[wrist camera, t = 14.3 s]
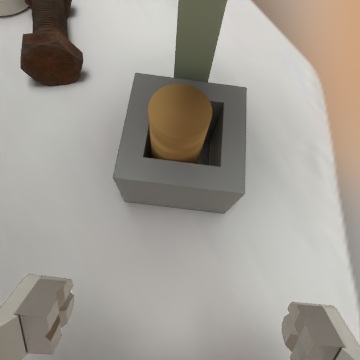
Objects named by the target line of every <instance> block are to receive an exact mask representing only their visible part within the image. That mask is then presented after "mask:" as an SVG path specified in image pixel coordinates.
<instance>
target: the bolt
mask: <svg viewBox="0 0 360 360" xmlns="http://www.w3.org/2000/svg"><path fill="white" fill-rule="evenodd" d="M71 1H72V0H25V3H26V4H27V5H28V6H29V7H30V8H31V9H32V18H33V33H31V34H23V40H22V50H21V69H22V70H23V71H24V72H25V73H26V74H28V75H29V76H30V77H31V78H33V79H34V80H36V81H38V82H40V83H42V84H45V85H51V86H59V85H67V84H70V83H73V82H75V81H77V80H78V78H79V75H80V72H81V69H82V64H83V54H82V52H81V51H80V50H79V49H78V48H77V47H75V46H74V45H73V44H72V43H71V42H70V41H69V40H68V35H67V23H66V17H68V15H69V11H70V7H71Z"/></svg>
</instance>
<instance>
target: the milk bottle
mask: <svg viewBox="0 0 360 360" xmlns="http://www.w3.org/2000/svg"><path fill="white" fill-rule="evenodd" d="M27 7H29V6H28V5H27V4H26V3H25V0H0V16H7V15H12V14H15V13H18V12H21V11H23V10H25V9H26V8H27Z"/></svg>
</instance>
